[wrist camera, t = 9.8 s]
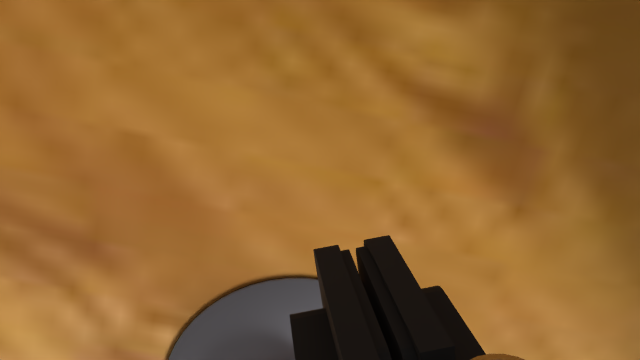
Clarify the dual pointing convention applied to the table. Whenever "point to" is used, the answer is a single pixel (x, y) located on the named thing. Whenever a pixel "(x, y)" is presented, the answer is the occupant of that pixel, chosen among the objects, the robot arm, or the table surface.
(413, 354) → the robot arm
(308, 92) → the table surface
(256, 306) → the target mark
